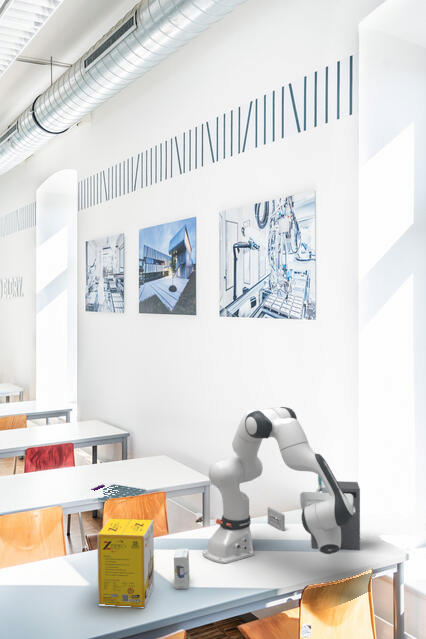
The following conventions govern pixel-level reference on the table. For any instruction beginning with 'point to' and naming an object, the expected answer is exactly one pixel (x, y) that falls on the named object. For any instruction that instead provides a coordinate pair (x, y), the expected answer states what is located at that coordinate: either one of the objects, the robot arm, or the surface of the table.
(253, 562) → the table surface
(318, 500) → the robot arm
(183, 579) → the ink box
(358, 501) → the rack
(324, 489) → the plug
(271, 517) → the cassette
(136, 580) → the packaging box
